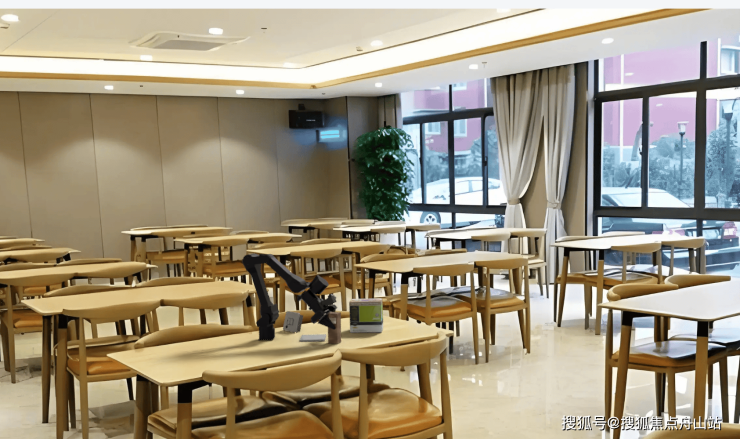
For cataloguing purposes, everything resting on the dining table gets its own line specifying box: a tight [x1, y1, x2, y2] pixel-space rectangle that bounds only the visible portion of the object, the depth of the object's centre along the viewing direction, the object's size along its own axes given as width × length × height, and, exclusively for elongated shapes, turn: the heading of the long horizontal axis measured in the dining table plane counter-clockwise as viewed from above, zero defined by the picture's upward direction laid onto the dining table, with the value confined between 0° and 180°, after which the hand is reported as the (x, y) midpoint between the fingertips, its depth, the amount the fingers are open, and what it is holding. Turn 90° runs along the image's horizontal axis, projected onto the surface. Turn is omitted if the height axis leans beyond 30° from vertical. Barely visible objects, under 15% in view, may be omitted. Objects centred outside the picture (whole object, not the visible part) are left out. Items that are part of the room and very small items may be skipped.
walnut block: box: [327, 311, 342, 345], centre depth 312 cm, size 4×5×13 cm
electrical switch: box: [282, 310, 304, 333], centre depth 340 cm, size 9×5×9 cm, turn 46°
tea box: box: [348, 297, 384, 333], centre depth 337 cm, size 15×10×15 cm
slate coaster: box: [299, 333, 327, 343], centre depth 321 cm, size 11×11×1 cm
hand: (337, 327), depth 311 cm, fingers closed on walnut block, 5 cm apart
